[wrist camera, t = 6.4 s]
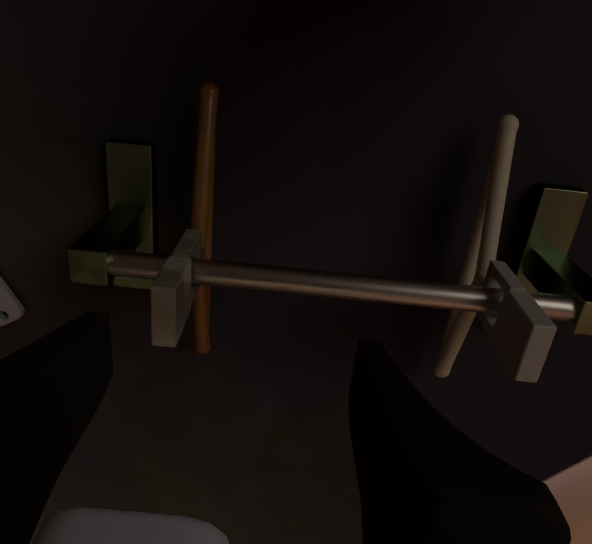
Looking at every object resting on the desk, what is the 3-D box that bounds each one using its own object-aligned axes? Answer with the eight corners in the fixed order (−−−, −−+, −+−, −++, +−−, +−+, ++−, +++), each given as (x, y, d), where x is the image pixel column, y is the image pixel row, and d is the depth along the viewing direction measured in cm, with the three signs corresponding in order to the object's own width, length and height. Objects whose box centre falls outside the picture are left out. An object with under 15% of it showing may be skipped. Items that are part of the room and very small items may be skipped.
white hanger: (446, 371, 27) (494, 497, 20) (430, 370, 27) (474, 495, 19) (517, 114, 21) (621, 159, 14) (497, 112, 21) (591, 156, 14)
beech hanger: (211, 348, 26) (175, 467, 19) (195, 347, 26) (153, 465, 19) (221, 82, 21) (175, 111, 14) (201, 79, 21) (145, 108, 14)
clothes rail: (534, 321, 26) (591, 396, 21) (118, 279, 26) (68, 345, 21) (581, 187, 23) (661, 235, 18) (111, 137, 23) (50, 171, 18)
